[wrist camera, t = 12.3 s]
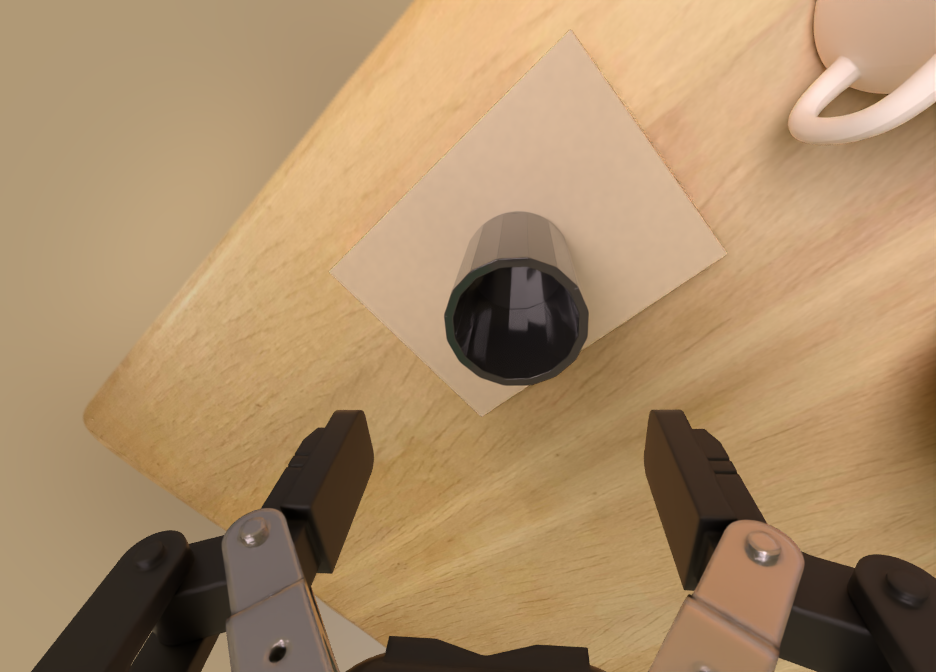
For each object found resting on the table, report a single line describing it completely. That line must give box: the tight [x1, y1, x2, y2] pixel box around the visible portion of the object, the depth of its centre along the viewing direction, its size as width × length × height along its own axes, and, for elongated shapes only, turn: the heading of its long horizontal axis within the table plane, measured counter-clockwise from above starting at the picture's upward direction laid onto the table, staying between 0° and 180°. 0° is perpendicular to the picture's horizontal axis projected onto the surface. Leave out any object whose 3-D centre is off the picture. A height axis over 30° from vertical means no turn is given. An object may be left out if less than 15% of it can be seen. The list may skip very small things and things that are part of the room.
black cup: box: [444, 211, 589, 386], centre depth 23 cm, size 6×6×8 cm
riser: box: [329, 29, 727, 417], centre depth 27 cm, size 18×14×3 cm
